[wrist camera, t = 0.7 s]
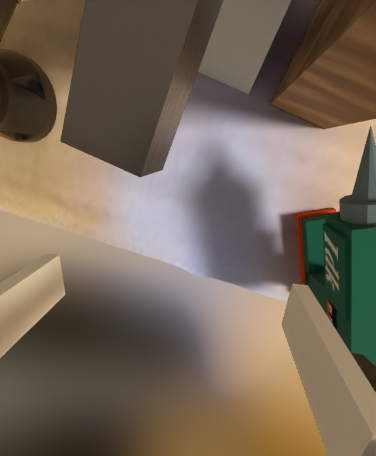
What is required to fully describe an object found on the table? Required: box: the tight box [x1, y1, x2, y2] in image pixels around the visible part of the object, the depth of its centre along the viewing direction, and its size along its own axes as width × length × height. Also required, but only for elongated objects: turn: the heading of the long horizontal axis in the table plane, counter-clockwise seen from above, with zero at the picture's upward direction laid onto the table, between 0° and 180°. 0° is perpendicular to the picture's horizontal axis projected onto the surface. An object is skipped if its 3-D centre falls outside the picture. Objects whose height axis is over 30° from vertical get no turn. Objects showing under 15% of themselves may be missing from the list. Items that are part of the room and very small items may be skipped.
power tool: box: [296, 126, 376, 366], centre depth 34 cm, size 32×7×20 cm, turn 13°
